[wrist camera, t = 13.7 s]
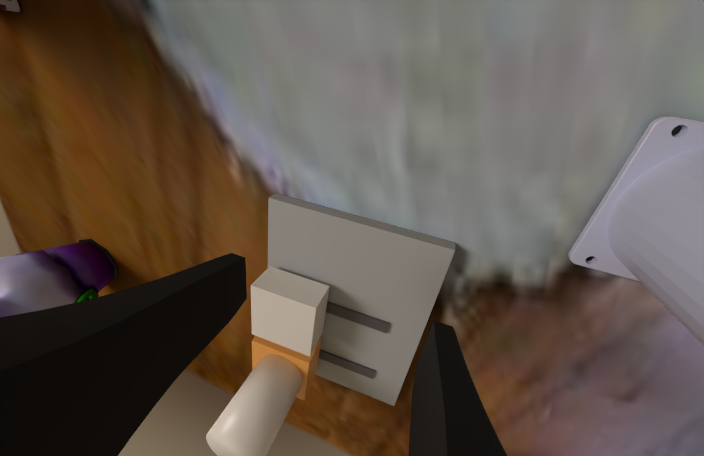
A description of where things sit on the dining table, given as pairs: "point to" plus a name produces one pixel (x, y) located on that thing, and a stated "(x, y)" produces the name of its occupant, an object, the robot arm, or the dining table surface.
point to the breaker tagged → (300, 360)
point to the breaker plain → (288, 309)
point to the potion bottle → (54, 277)
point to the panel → (361, 289)
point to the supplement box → (9, 5)
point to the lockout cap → (257, 409)
